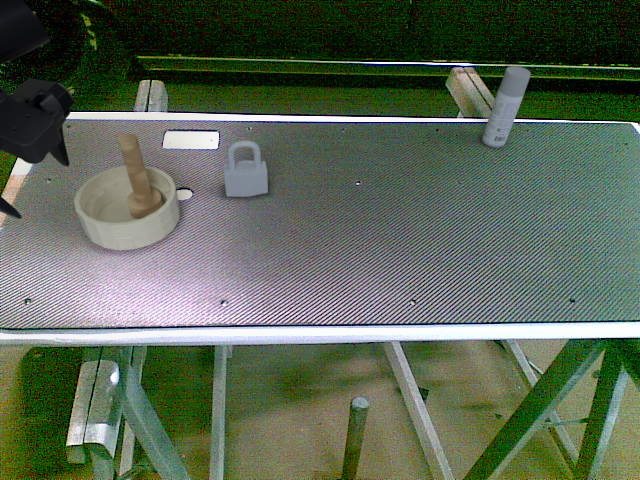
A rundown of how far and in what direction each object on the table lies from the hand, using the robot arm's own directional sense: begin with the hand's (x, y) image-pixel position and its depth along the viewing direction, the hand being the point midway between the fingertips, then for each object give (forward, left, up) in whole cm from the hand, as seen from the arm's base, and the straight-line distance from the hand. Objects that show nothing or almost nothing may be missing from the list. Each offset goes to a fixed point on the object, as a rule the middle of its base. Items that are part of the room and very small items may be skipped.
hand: (43, 190), depth 60 cm
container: (+80, 0, -13) cm, 81 cm away
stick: (+12, +6, -12) cm, 18 cm away
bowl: (+9, +5, -13) cm, 17 cm away
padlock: (+28, +5, -13) cm, 32 cm away
